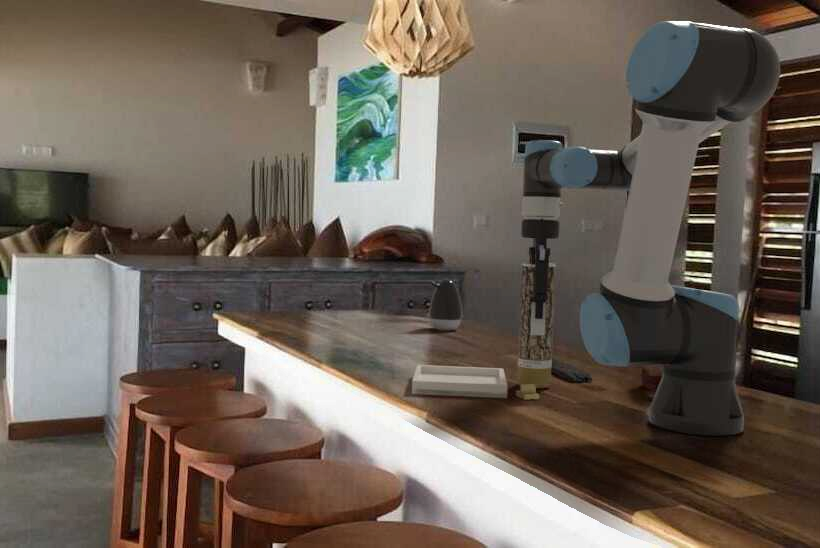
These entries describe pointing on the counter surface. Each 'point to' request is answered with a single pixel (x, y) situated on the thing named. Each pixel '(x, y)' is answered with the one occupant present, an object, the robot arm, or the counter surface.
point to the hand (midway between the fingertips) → (535, 332)
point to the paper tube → (535, 347)
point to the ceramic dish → (459, 381)
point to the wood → (570, 372)
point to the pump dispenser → (445, 306)
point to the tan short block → (527, 392)
